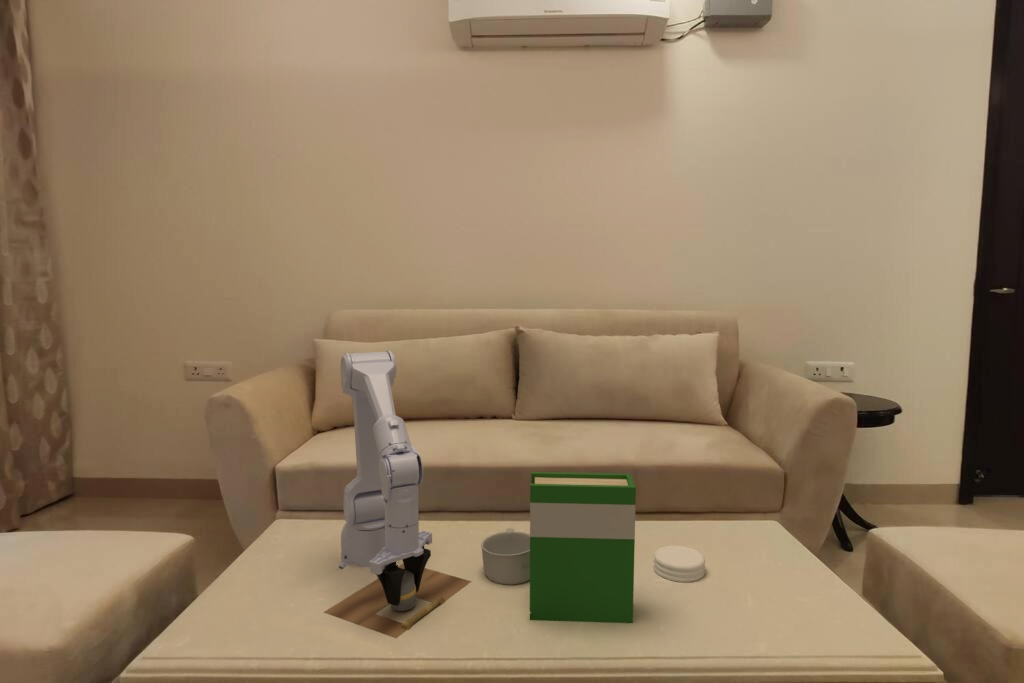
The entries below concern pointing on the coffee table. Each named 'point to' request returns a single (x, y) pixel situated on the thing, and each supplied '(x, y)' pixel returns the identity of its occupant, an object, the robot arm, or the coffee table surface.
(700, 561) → the stack of white coasters
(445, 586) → the shelf board
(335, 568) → the coffee table surface
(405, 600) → the gold-banded grey cylinder
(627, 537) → the hardback book
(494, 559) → the teacup
